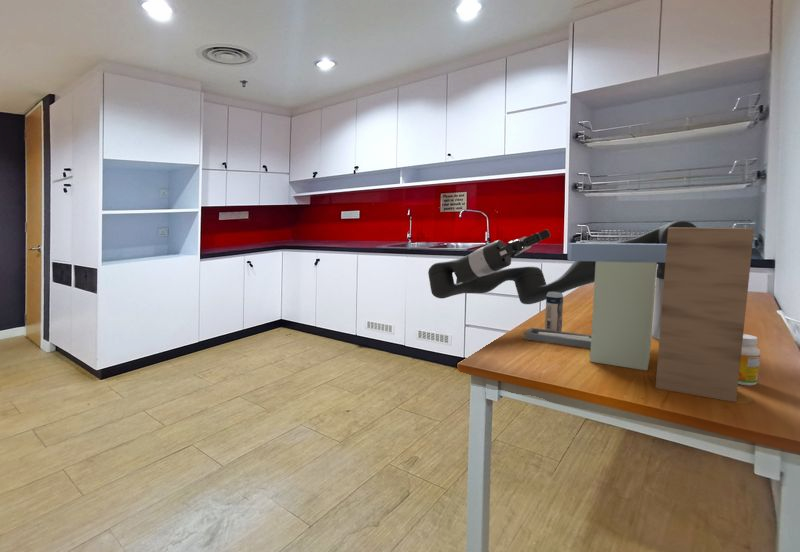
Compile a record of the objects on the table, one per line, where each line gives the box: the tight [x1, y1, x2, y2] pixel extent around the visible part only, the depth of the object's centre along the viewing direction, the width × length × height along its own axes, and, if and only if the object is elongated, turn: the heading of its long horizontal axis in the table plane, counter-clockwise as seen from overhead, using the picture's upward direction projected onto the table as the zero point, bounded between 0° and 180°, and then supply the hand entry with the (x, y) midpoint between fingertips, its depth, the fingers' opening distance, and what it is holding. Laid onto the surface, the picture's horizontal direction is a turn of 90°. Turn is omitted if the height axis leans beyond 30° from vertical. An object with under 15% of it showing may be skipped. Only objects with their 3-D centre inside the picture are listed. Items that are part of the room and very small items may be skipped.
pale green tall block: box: [589, 261, 658, 371], centre depth 105 cm, size 10×12×24 cm
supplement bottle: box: [738, 333, 761, 386], centre depth 92 cm, size 5×5×10 cm
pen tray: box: [524, 327, 591, 350], centre depth 122 cm, size 7×22×2 cm, turn 58°
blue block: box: [567, 242, 667, 263], centre depth 103 cm, size 4×24×4 cm, turn 80°
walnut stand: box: [655, 227, 755, 403], centre depth 87 cm, size 8×13×32 cm, turn 58°
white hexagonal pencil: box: [538, 332, 591, 341], centre depth 123 cm, size 3×2×16 cm
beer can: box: [544, 292, 564, 332], centre depth 132 cm, size 5×5×12 cm
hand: (544, 234), depth 111 cm, fingers open, 8 cm apart
